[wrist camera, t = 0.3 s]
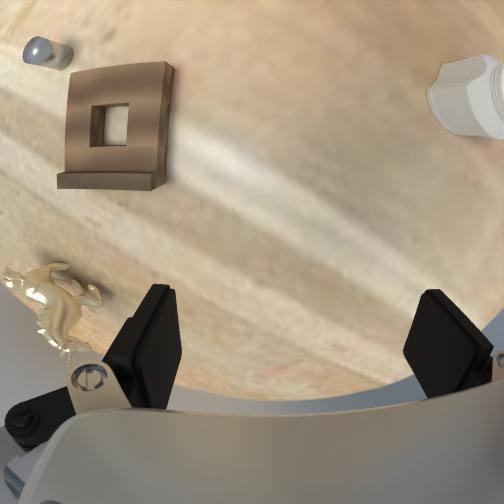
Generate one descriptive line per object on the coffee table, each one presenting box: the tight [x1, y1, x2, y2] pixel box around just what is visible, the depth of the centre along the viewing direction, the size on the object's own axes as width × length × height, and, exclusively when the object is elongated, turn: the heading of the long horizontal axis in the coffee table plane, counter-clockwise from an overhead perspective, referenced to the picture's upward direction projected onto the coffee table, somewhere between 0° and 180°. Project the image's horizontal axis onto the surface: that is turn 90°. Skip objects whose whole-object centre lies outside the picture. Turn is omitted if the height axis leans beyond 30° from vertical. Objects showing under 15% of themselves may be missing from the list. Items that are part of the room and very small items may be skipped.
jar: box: [426, 54, 504, 140], centre depth 26 cm, size 12×10×15 cm
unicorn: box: [2, 263, 103, 366], centre depth 36 cm, size 20×4×17 cm, turn 62°
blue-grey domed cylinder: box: [23, 36, 73, 70], centre depth 27 cm, size 4×4×8 cm
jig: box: [57, 61, 174, 191], centre depth 33 cm, size 16×14×6 cm
